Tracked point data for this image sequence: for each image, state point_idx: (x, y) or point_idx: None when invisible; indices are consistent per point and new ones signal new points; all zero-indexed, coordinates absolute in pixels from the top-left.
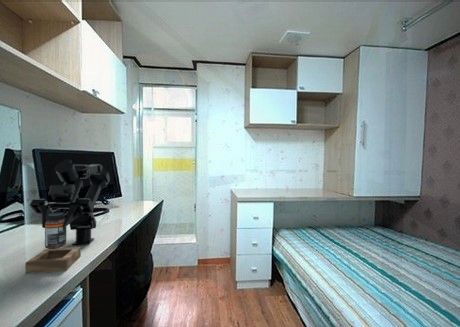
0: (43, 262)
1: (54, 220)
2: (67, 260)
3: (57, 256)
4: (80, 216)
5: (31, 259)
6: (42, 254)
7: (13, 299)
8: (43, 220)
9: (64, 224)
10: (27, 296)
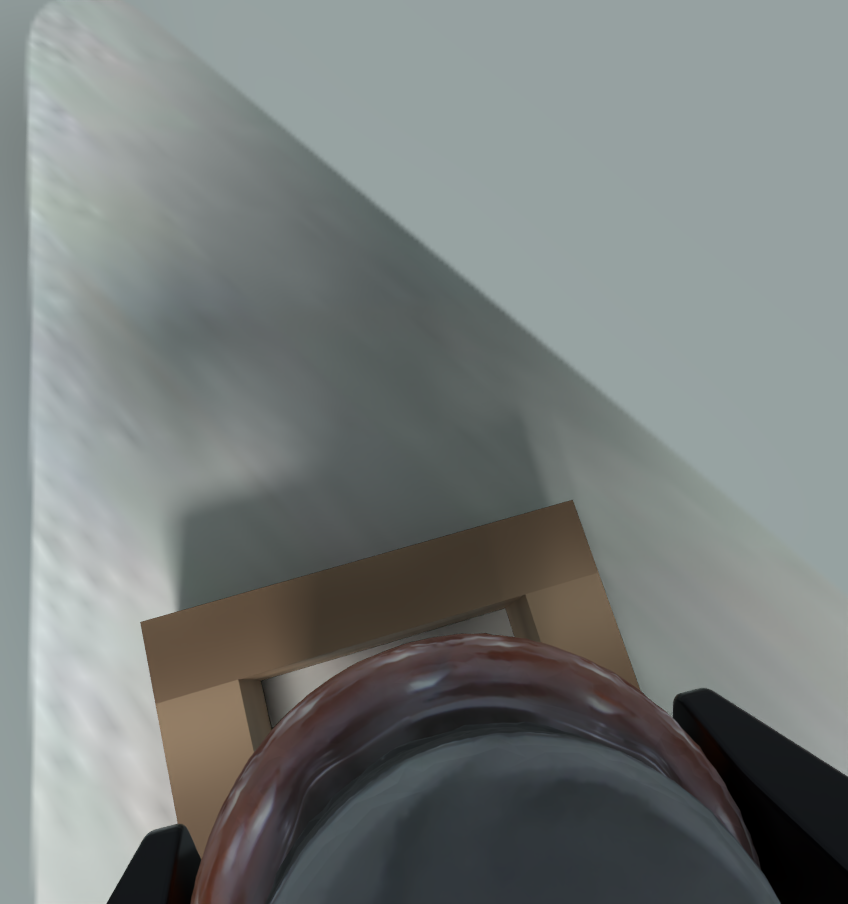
0: (394, 552)
1: (381, 742)
2: (149, 643)
3: None
4: None
5: (587, 587)
6: None
7: (263, 166)
8: (834, 801)
9: (141, 857)
10: (194, 202)
